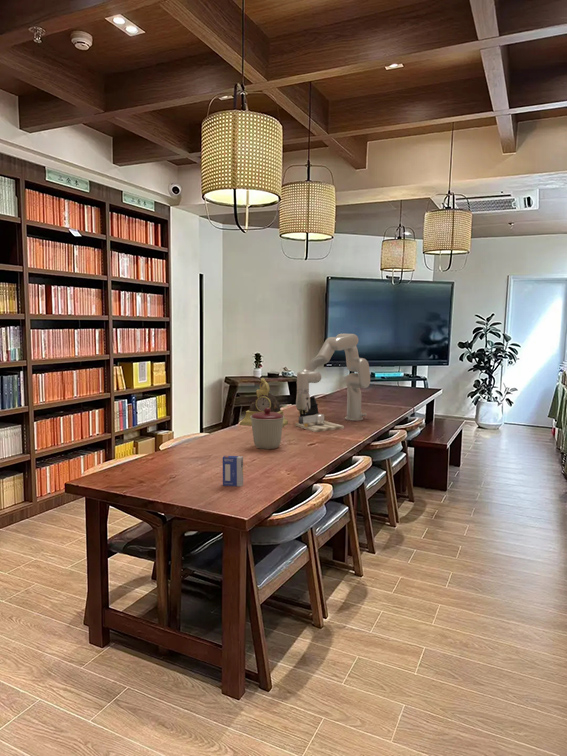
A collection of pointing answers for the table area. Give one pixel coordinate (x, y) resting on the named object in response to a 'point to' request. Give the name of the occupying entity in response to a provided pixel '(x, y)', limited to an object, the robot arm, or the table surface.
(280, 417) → the canister
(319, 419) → the capstan lever
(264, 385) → the decorative clock
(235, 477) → the walkman
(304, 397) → the robot arm
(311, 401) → the black box
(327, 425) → the dial base
